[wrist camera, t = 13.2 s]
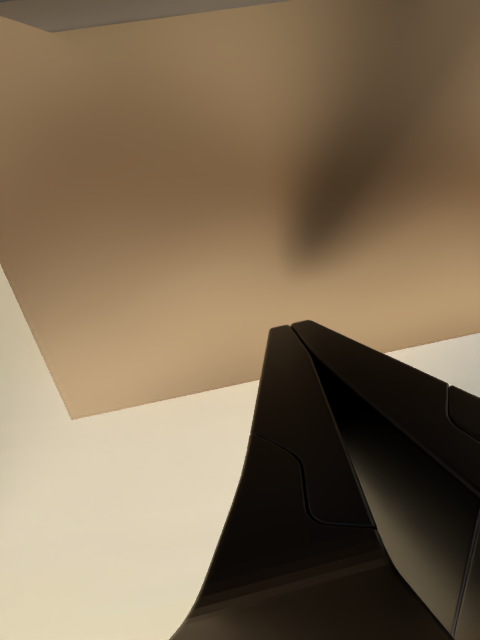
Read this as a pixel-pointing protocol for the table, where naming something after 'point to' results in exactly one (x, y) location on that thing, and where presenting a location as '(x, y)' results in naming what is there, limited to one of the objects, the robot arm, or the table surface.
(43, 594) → the table surface
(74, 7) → the tray
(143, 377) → the wooden l-shaped stand
